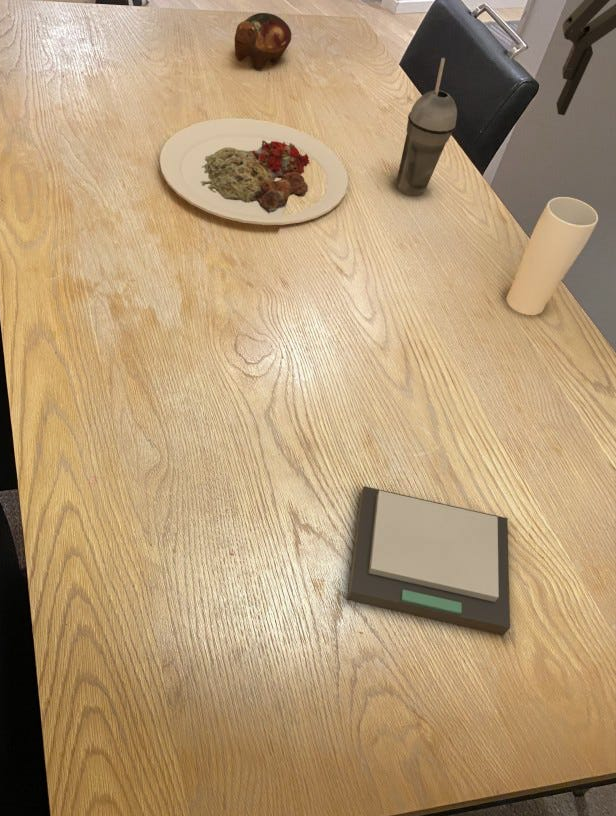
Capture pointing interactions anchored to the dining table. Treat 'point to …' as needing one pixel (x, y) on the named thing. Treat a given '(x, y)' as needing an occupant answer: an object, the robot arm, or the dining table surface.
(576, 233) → the drinking glass
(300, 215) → the plated food
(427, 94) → the beverage cup
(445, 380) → the dining table surface
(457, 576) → the scale
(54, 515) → the dining table surface
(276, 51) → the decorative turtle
